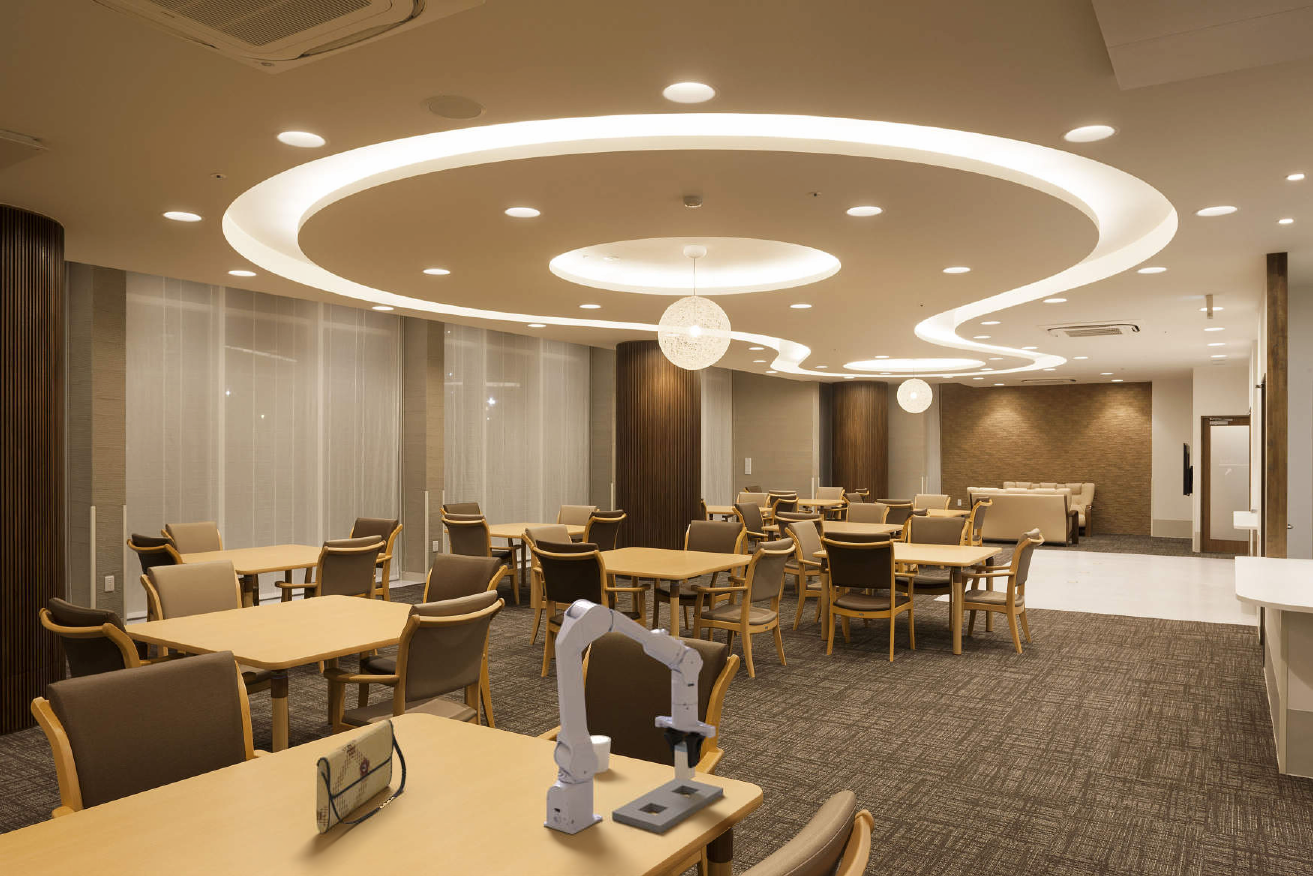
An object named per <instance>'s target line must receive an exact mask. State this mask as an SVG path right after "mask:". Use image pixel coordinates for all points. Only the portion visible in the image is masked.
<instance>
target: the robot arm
mask: <svg viewBox="0 0 1313 876" xmlns="http://www.w3.org/2000/svg"><path fill="white" fill-rule="evenodd" d="M563 615H564V616H563V622H562V624H561V626H560V629H559V631H558V634H557V637H556V639H555V642H554V649H555V650H554V651H555V666H556V677H557V679H556V680H557V681H556V682H557V691H558V692H557V693H558V707H559V719H560V721H559V722H560V730H559V731H558V732H557V734H556V744H555V748H554V750H553V759H554V762H555V764H556V765H557V766H558V772H557V779H556V781H555V783H554V784H553V785H552V786H550V787H549V788H548V790H547V793H546V821H544V822H543V826H545V827H549V828H551V829H555V830H558V831H561V832H564V833H566V834H569V835H574V834H576V833H578V832H580V831H582V830H584V829H585V828H588V827H589V826H591V825H593V824H595V823H596V822H599V821H601V820H602V819H603V815H600V814H596V813H594V775H595V774H597V773H596V771H597V768H598V758H597V755H596V754H595V752H594V750H593V744H592V740H591V737H590V736H591V735H590V732H589V731H588V726H587V712H586V711H587V709H586V699H585V698H586V697H585V685H584V670H583V669H584V668H583V659H582V658H583V656H582V653H583V651H584V650H585V649H586V648H587V647H588V646H589V644H591V643H593V642H594V641H596V640H598V639H599V638H601V637H602V636H604V635H606V633H607V632H609V633H615V632H619V633H621V634H622V635H625V636H627V637H628V638H630V639H632V640H634V641H636V642H637V643H639V644H642V648H643V651H644V653H645V654H646V655H648V656H650V657H651V658H653V659H655V660H657V661H659V662H661V663H662V664H664V665H666V666H667V667H668V669H670V670H671V716H664V715H663V716H662V715H659V716H657V717H655V719H654V720H655V722H654V724H655V727H656V728H661V727H662V728H666V731H663V733H662V734H663V737H664V739H665V741H666V742H667V745H668V748H669V750H670V753H671V756H672V761H673V765H675V745H677V744H679V743H681V742H686V746H687V752H688V767H689V768H693V767H695V768H696V766H697V761H698V758H699V754H700V752H701V751H700V750H701V748H702V746H703V744H704V741H705V739H706V737H707V738H709V739H712V738H714V737H716V726H713V725H709V724H707V723H705V722H702V721H699V718H698V717H699V714H698V713H699V711H698V710H699V708H698V707H699V706H698V705H699V703H698V702H699V695H698V693H699V692H698V691H699V690H698V689H699V687H698V685H699V683H698V680H699V674H700V672H701V670H702V669H703V665H704V660H702V657H701V654H700V653H699V651H698V650H697V649H695V648H691V647H689V646H687V645H685V643H686V642H685V641H683V640H681V639H679V640H678V639H676V638H674V637H672V636H670V635H669V634H670V631H668V630H667V629H664V628H661V629H660V628H655V629H652V630H649V629H647V628H646V627H644V626H642V625H640V623H638V622H637V621H634V620H633V619H631V618H630V617H629V616H627V615H625V614H624V613H622V612H620V611H617V610H616V609H611V608H609V607H606V606H605V605H602V604H598V603H594V602H592V601H590V600H587V599H583V598H582V599H577V600H576V601H573V603H572V604H571V605H570V606H569V607H568V608H567V609H566V610H565V611H564V613H563ZM685 733H690V734H687V735H685Z"/></svg>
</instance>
